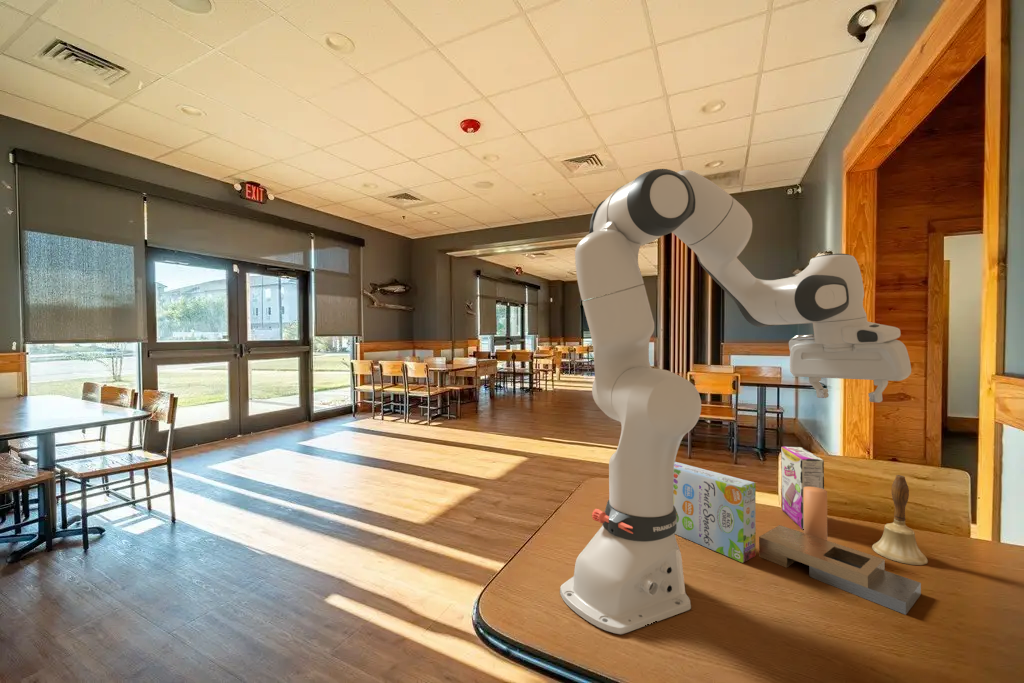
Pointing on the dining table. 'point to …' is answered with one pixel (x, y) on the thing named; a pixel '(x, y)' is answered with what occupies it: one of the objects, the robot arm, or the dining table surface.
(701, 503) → the snack box
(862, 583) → the chain end upper
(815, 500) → the pin
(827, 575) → the chain end lower
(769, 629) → the dining table surface
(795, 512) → the candy bar box
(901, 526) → the hand bell
